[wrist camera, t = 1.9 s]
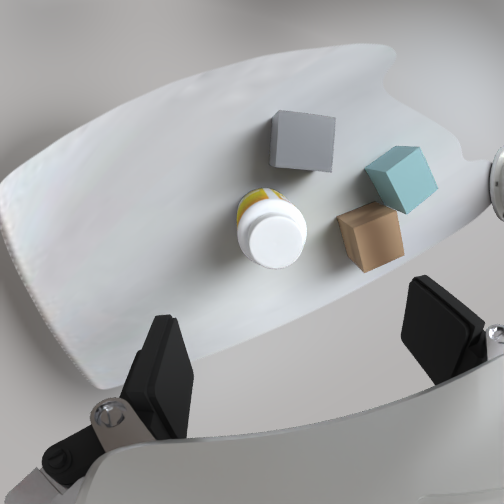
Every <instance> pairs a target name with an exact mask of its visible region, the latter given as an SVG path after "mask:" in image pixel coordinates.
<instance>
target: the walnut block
mask: <svg viewBox="0 0 504 504" xmlns="http://www.w3.org/2000/svg"><path fill="white" fill-rule="evenodd" d="M336 217H337V220H338V223H339V227H340V230H341V234H342V237H343V241H344V244H345V248H346V252H347V255H348V257H349V258H350V259H351V260H352V261H353V262H354V263H355V264H356V265H357V266H358V267H359V268H360V269H361V270H362V271H363V272H364V273H366V272H368V271H370V270H373V269H375V268H377V267H379V266H382V265H384V264H386V263H388V262H391V261H393V260H395V259H397V258H399V257H401V256H404V249H403V243H402V237H401V232H400V226H399V221H398V216H397V211H396V210H393V209H391V208H389V207H386V206H384V205H382V204H379V203H377V202H373V203H370V204H367V205H365V206H362V207H360V208H357V209H355V210H352V211H349V212H347V213H344V214H342V215H339V216H336Z"/></svg>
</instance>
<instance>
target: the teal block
mask: <svg viewBox="0 0 504 504" xmlns="http://www.w3.org/2000/svg"><path fill="white" fill-rule="evenodd" d="M365 170H366V172H367V174H368V175H369V177H370V179H371V181H372V182H373V184H374V186H375V188H376V190H377V191H378V193H379V195H380V197H381V199H382V201H383V203H384V205H386V206H388V207H391V208H393V209H395V210H398V211H400V212H402V213H404V214H408V213H409V212H411V211H412V210H413V209H414V208H416V207H417V206H418V205H419V204H421V203H422V202H423V201H424V200H425V199H427V198H428V197H429V196H430V195H431V194H433V193H434V192H435V191H436V190H437V189H438V187H437V184H436V182H435V180H434V177H433V175H432V173H431V170H430V168H429V166H428V164H427V161H426V159H425V157H424V155H423V153H422V151H421V149H420V147H410V146H395V147H393V148H392V149H391V150H389V151H388V152H386V153H385V154H384V155H382V156H381V157H379V158H378V159H377V160H375V161H374V162H372V163H371V164H370V165H368V166H367V167H365Z"/></svg>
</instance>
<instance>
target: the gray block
mask: <svg viewBox="0 0 504 504" xmlns="http://www.w3.org/2000/svg"><path fill="white" fill-rule="evenodd" d="M335 120H336V118H334V117H328V116H322V115H315V114H307V113H300V112H291V111H282V110H279V111H278V112H277V113H276V114H275V115H274V116H273V117H272V129H271V145H270V160H269V165H271V166H274V167H280V168H292V169H303V170H313V171H322V172H331V173H332V162H333V150H334V136H335Z"/></svg>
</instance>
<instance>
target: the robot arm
mask: <svg viewBox="0 0 504 504" xmlns="http://www.w3.org/2000/svg"><path fill="white" fill-rule="evenodd" d="M490 195H491V201H492V205H493V209H494V211H495V213H496V215H497V216H498V218H499V219H500V220H502V221H504V146H502V147H501V148H500V149H499V150H498V152H497V154H496V155H495V158H494V161H493V164H492V168H491V175H490ZM484 325H485V322H484V321H483V320H482V319H481V318H480V317H478V316H477V315H476V314H475V313H474V312H472V311H471V310H470V309H469V308H468V307H466V306H465V305H464V304H463V303H462V302H460V301H459V300H458V299H457V298H455V297H454V296H453V295H452V294H450V293H449V292H448V291H447V290H445V289H444V288H443V287H441V286H440V285H439V284H438V283H436V282H435V281H433V280H432V279H431V278H430V277H428V276H427V275H422V276H418V277H414V278H413V279H412V281H411V282H410V284H409V290H408V297H407V303H406V309H405V315H404V321H403V326H402V332H401V339H402V342H403V343H404V344H405V346H406V347H407V348H408V350H409V351H410V352H411V353H412V355H413V356H414V357H415V359H416V360H417V361H418V363H419V364H420V365H421V367H422V368H423V369H424V371H425V372H426V373H427V374H428V376H429V377H430V378H431V380H432V381H433V383H434V384H435V385H436V386H433V387H431V388H429V389H426V390H424V391H421V392H419V393H416V394H413V395H411V396H408V397H406V398H402V399H400V400H397V401H394V402H391V403H388V404H385V405H382V406H379V407H376V408H373V409H369V410H366V411H362V412H359V413H355V414H352V415H348V416H344V417H340V418H336V419H332V420H328V421H323V422H318V423H314V424H309V425H304V426H299V427H293V428H288V429H281V430H274V431H267V432H260V433H251V434H241V435H231V436H220V437H203V438H186V437H187V428H188V419H189V411H190V403H191V394H192V387H193V380H194V374H193V369H192V366H191V363H190V360H189V357H188V354H187V351H186V348H185V344H184V341H183V338H182V334H181V331H180V328H179V324H178V321H177V319H176V318H172V316H171V315H158V316H155V318H154V320H153V323H152V325H151V328H150V330H149V332H148V335H147V337H146V340H145V342H144V345H143V347H142V350H139V351H138V352H137V354H136V356H135V358H134V361H133V363H132V366H131V369H130V371H129V374H128V376H127V379H126V381H125V384H124V387H123V389H122V392H121V395H120V397H119V398H116V397H114V398H108V399H105V400H102V401H101V402H99V403H98V404H97V405H96V406H95V407H94V408H93V410H92V411H91V415H90V421H91V425H90V426H88V427H86V428H84V429H82V430H81V431H79V432H77V433H75V434H73V435H71V436H69V437H68V438H66V439H64V440H62V441H60V442H58V443H56V444H54V445H52V446H51V447H49V448H48V449H47V450H46V452H45V453H44V455H43V457H42V466H43V467H42V468H41V469H40V470H39V469H38V468H37V467H36V468H35V469H34V470H33V471H32V472H31V473H30V474H29V475H27V476H26V477H25V478H24V479H23V480H22V481H21V482H20V483H19V484H18V485H16V486H15V487H14V488H13V489H12V490H11V491H10V492H9V493H8V494H7V496H6V498H5V504H504V325H500V324H495V325H491V326H489V327H488V328H487V329H486V332H485V331H484V330H483V328H484Z"/></svg>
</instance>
